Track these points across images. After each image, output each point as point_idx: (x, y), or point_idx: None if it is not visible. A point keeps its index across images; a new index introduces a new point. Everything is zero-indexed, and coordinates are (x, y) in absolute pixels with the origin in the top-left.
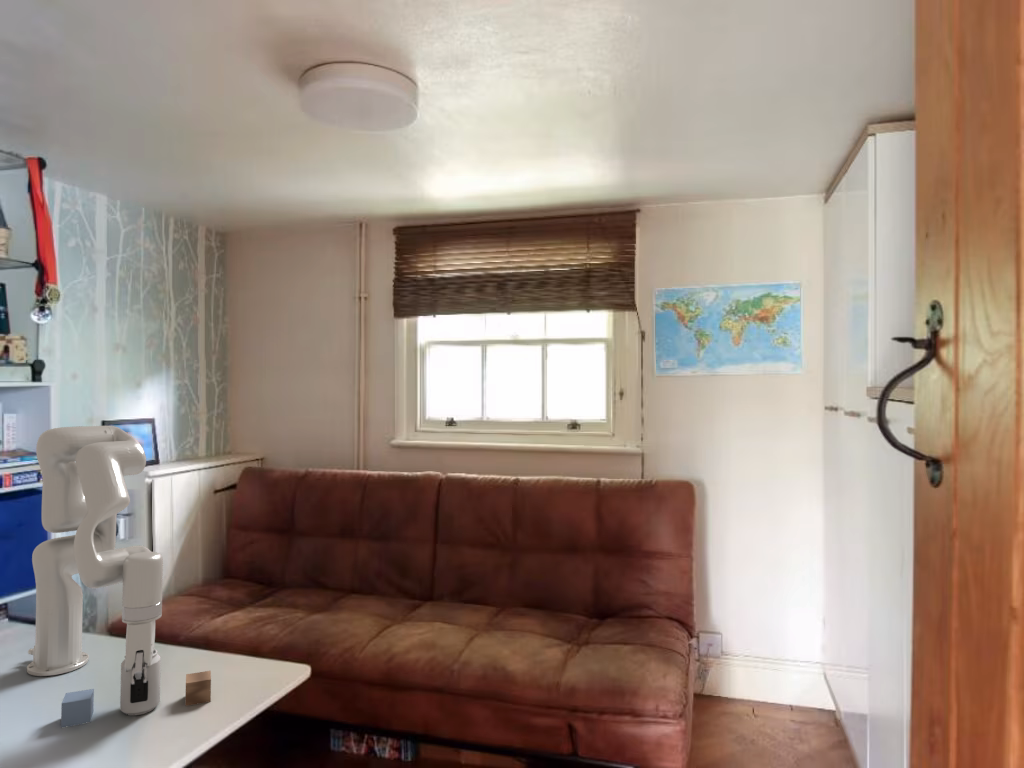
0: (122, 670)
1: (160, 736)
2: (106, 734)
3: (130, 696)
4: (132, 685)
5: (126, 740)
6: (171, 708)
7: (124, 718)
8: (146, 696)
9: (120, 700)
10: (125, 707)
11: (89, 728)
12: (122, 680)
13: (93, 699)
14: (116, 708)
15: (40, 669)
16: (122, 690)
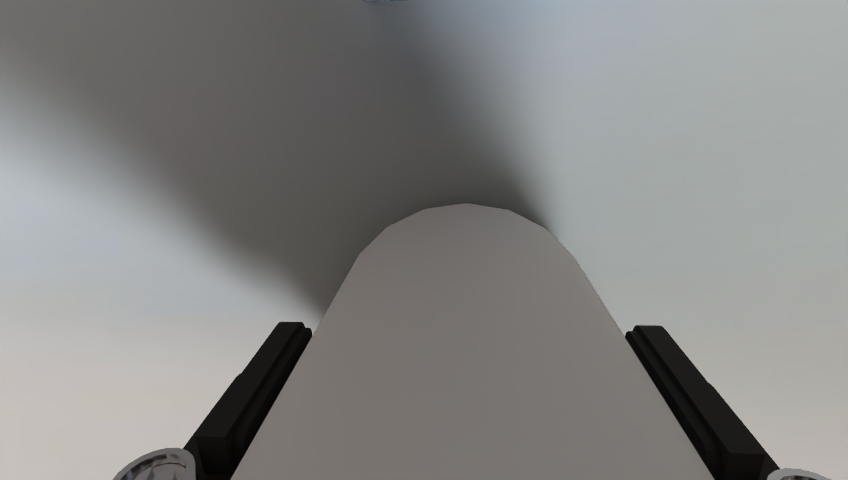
0: (303, 462)
1: (80, 412)
2: (151, 148)
3: (261, 350)
4: (206, 440)
5: (58, 267)
6: None
7: (352, 231)
8: None
9: (445, 225)
10: (363, 257)
11: (267, 16)
12: (350, 349)
13: None
14: (543, 163)
15: None
16: (369, 290)
